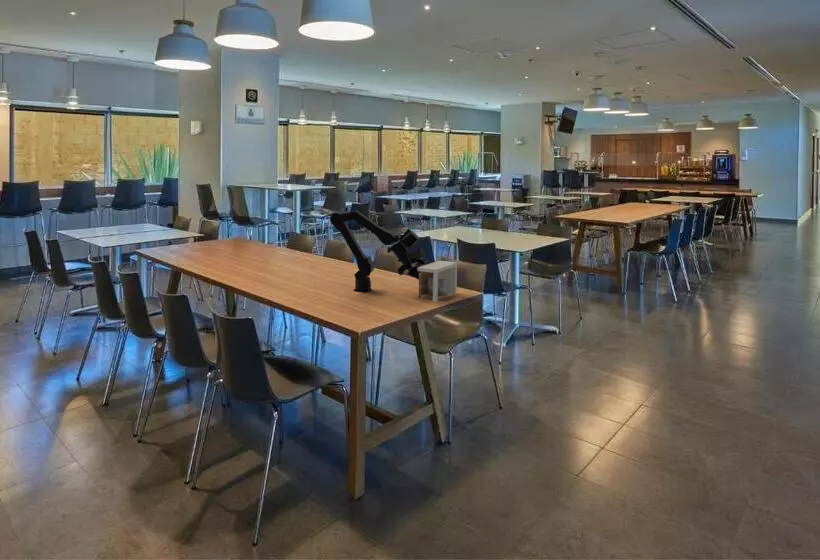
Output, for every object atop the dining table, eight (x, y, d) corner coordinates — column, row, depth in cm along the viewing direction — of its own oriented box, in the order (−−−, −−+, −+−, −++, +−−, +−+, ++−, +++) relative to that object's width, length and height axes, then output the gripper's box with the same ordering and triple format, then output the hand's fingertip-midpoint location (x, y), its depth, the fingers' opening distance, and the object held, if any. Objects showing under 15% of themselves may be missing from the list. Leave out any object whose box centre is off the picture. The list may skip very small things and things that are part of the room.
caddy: (418, 297, 267) (419, 273, 265) (428, 293, 275) (429, 269, 273) (445, 301, 261) (445, 276, 259) (454, 296, 269) (455, 272, 267)
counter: (417, 300, 261) (417, 267, 258) (438, 291, 279) (439, 260, 276) (435, 302, 257) (436, 269, 254) (456, 293, 275) (457, 262, 272)
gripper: (403, 245, 261) (425, 272, 258) (423, 240, 277) (444, 266, 274) (387, 261, 267) (409, 288, 264) (408, 255, 283) (428, 281, 280)
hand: (423, 280), depth 270 cm, fingers closed, pressing on caddy
